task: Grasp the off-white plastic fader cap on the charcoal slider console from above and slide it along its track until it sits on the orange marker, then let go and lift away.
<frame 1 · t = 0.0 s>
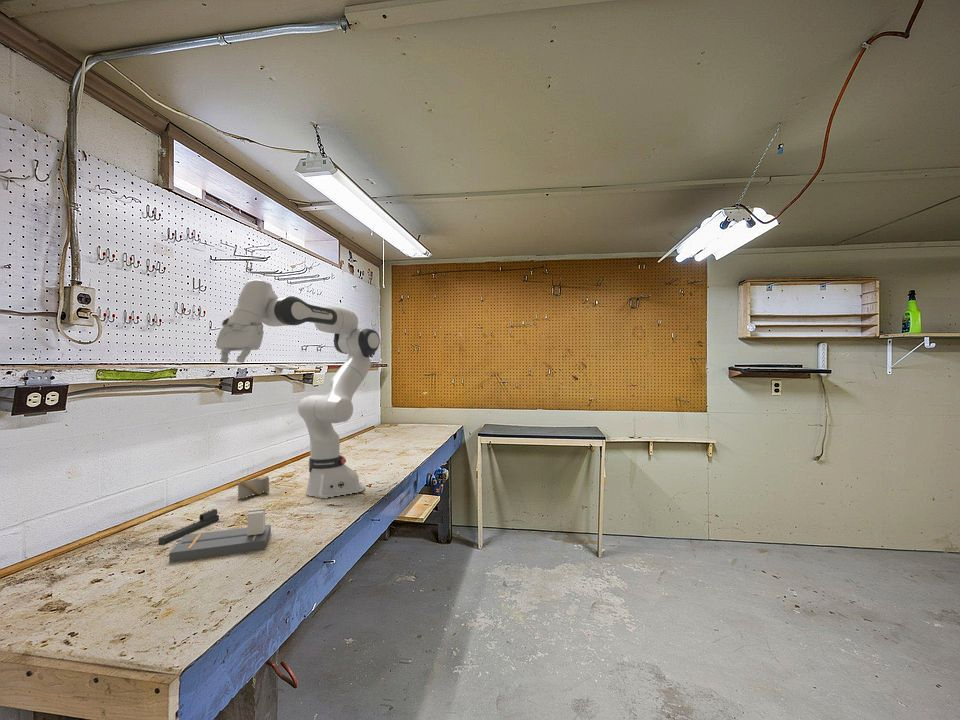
hand: (231, 362, 134), 52 cm above the workbench, tool tilted 20°, fingers open, 8 cm apart
slider console: (224, 546, 115), on the workbench
dark grey bar: (191, 533, 126), on the workbench
fader cap: (256, 521, 118), point 6 cm above the workbench, slide at -8.0 cm
model: (253, 497, 160), on the workbench
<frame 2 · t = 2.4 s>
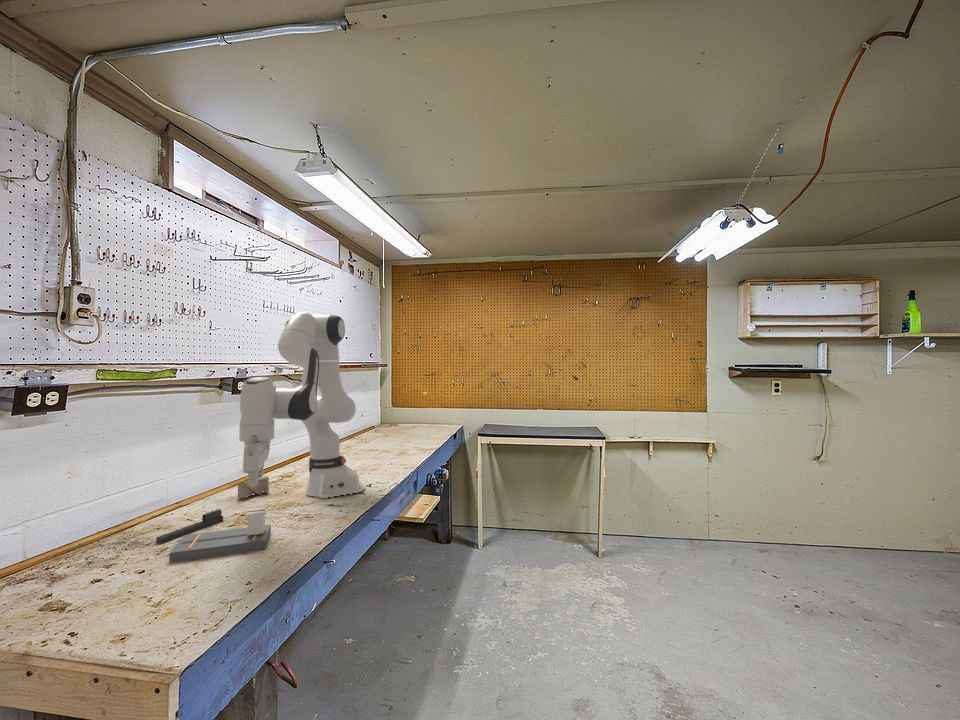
hand: (256, 481, 118), 17 cm above the workbench, tool pointing down, fingers open, 8 cm apart
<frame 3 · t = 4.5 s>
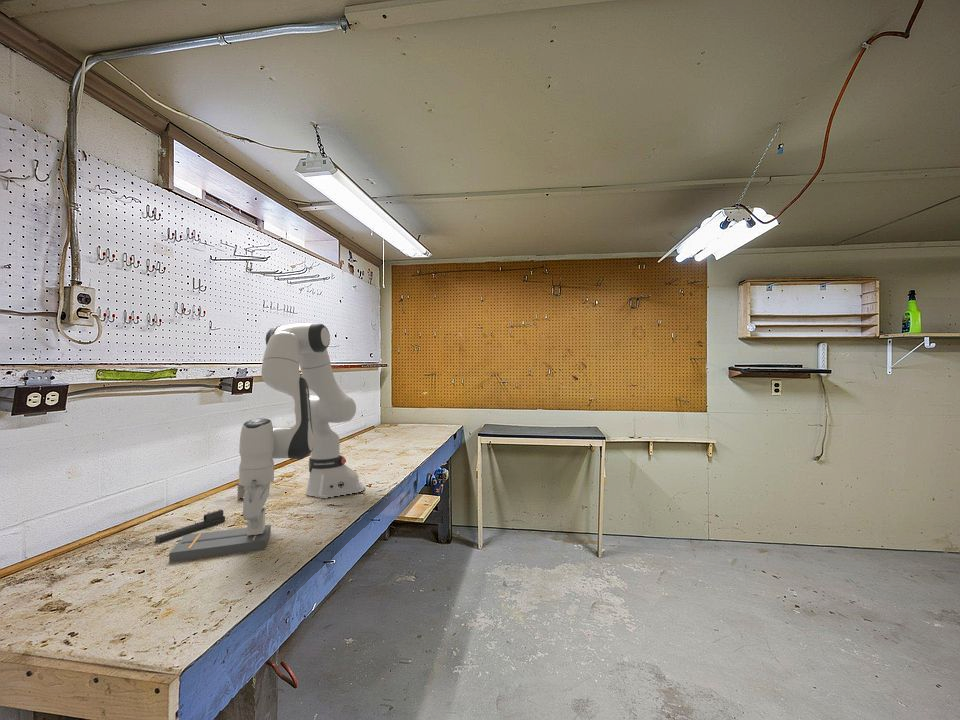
hand: (256, 524, 118), 5 cm above the workbench, tool pointing down, fingers closed on fader cap, 4 cm apart
fader cap: (256, 521, 118), point 6 cm above the workbench, slide at -8.0 cm, touching gripper
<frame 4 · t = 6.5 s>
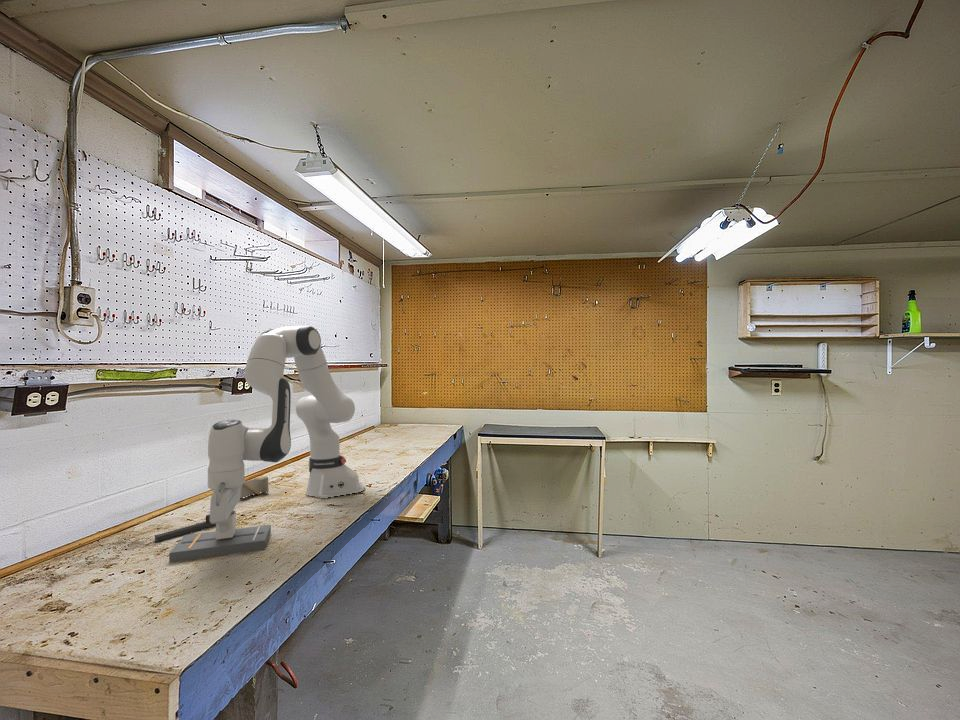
hand: (226, 528, 115), 5 cm above the workbench, tool pointing down, fingers closed on fader cap, 4 cm apart
fader cap: (226, 524, 115), point 6 cm above the workbench, slide at -0.4 cm, touching gripper
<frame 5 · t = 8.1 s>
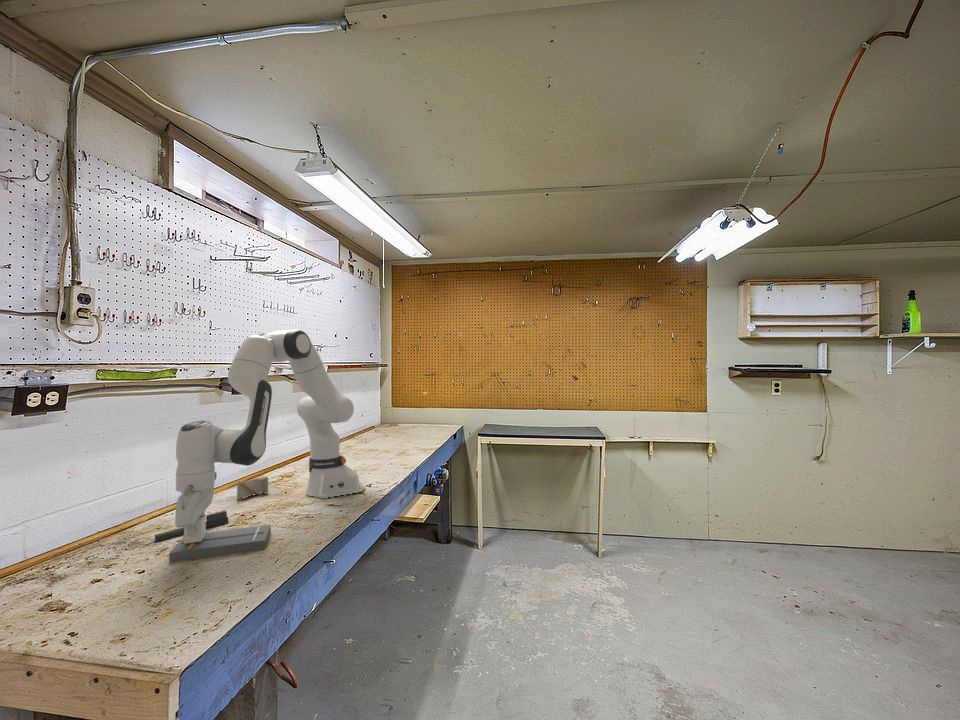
hand: (195, 531, 112), 5 cm above the workbench, tool pointing down, fingers closed on fader cap, 4 cm apart
fader cap: (195, 528, 112), point 6 cm above the workbench, slide at 7.0 cm, touching gripper
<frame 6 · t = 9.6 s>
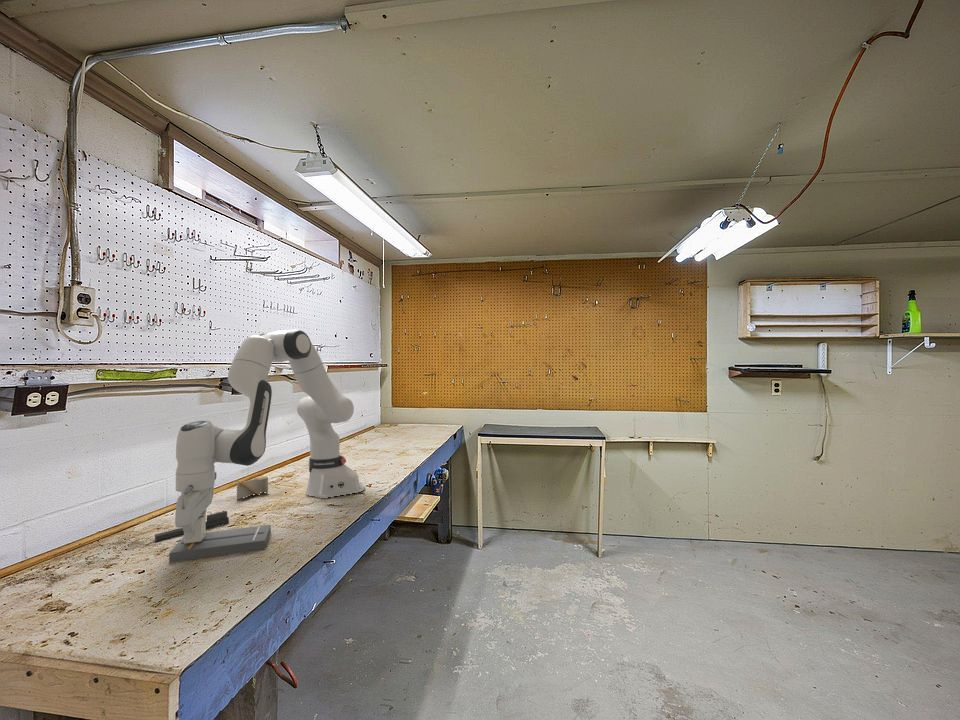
hand: (194, 531, 112), 5 cm above the workbench, tool pointing down, fingers open, 8 cm apart
fader cap: (195, 528, 112), point 6 cm above the workbench, slide at 7.0 cm
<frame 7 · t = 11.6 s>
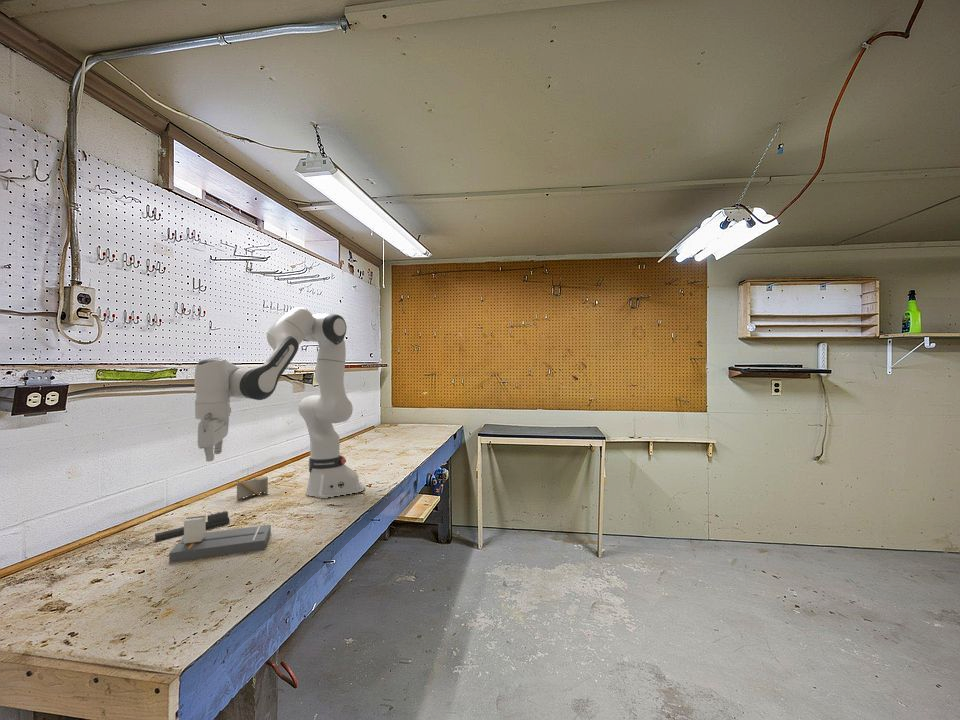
hand: (214, 457, 124), 23 cm above the workbench, tool pointing down, fingers open, 8 cm apart
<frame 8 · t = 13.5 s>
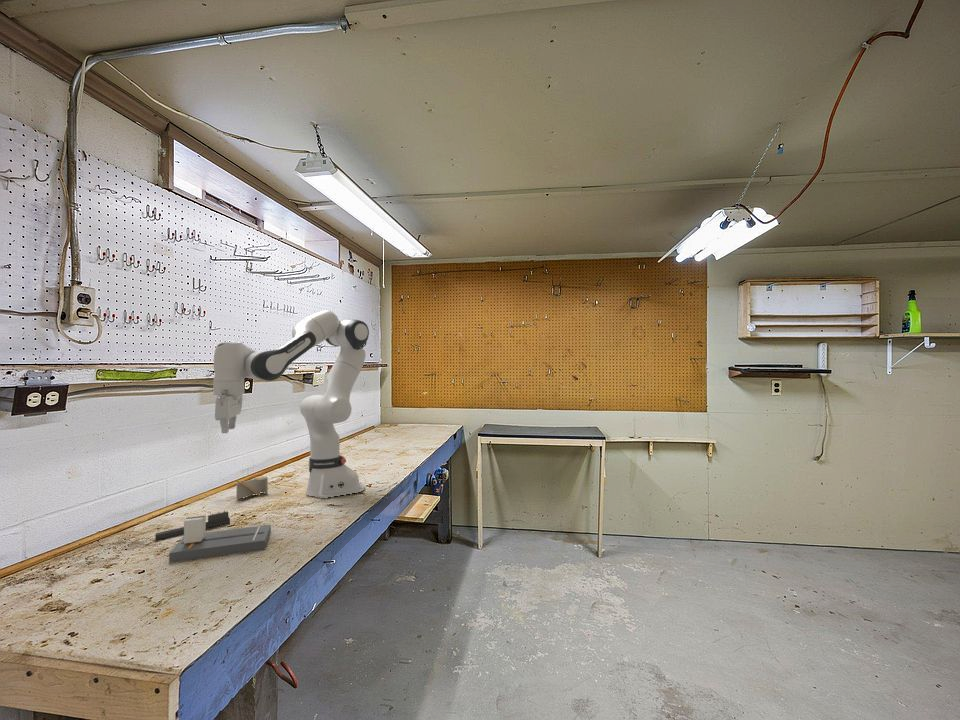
hand: (228, 430, 136), 29 cm above the workbench, tool pointing down, fingers open, 8 cm apart
at the end: fader cap slide at 7.0 cm; the gripper is holding nothing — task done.
